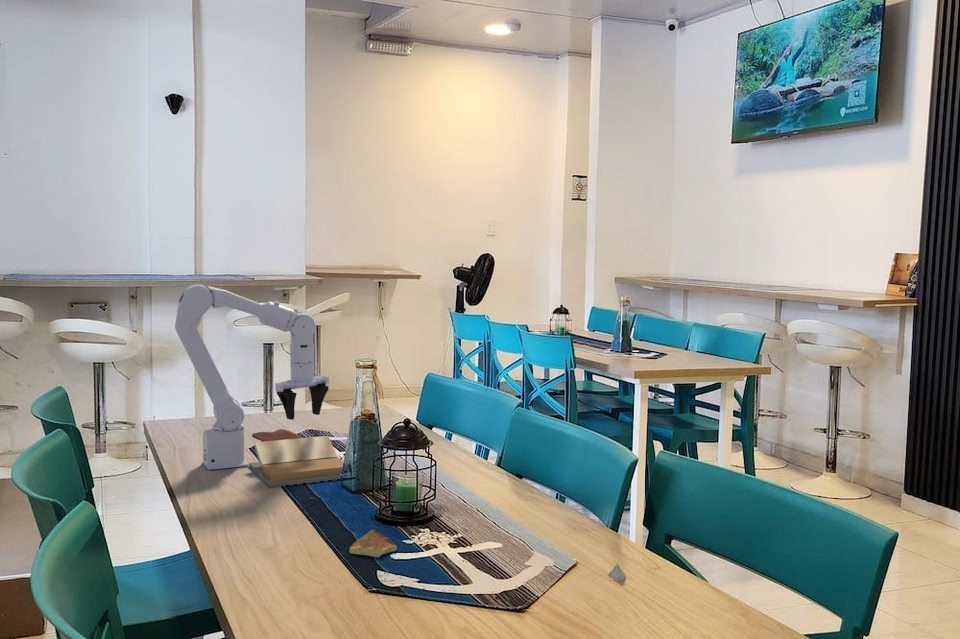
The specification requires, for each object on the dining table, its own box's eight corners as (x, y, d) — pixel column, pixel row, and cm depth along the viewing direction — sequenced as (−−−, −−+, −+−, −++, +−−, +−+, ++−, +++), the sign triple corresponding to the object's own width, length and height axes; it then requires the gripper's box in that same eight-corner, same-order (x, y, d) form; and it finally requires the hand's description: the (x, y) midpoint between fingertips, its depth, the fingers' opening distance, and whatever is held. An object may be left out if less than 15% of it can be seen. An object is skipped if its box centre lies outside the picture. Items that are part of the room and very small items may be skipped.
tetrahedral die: (613, 579, 149) (609, 562, 150) (627, 578, 148) (623, 560, 148) (602, 585, 147) (598, 567, 147) (616, 584, 145) (612, 566, 145)
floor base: (269, 487, 194) (269, 477, 193) (249, 466, 210) (249, 456, 210) (355, 477, 203) (355, 467, 203) (330, 458, 220) (330, 448, 219)
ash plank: (261, 469, 204) (262, 464, 203) (254, 447, 210) (254, 442, 209) (336, 461, 212) (337, 456, 211) (327, 440, 218) (328, 435, 217)
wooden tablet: (249, 437, 242) (249, 431, 242) (282, 433, 248) (282, 427, 248) (295, 457, 222) (295, 451, 221) (330, 452, 228) (330, 445, 228)
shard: (372, 535, 166) (372, 526, 166) (410, 540, 164) (410, 531, 164) (347, 555, 156) (347, 545, 156) (387, 561, 154) (387, 551, 153)
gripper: (286, 367, 208) (287, 423, 209) (336, 360, 218) (337, 414, 220) (269, 364, 213) (271, 419, 214) (319, 357, 223) (320, 410, 225)
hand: (303, 416), depth 217 cm, fingers open, 7 cm apart
